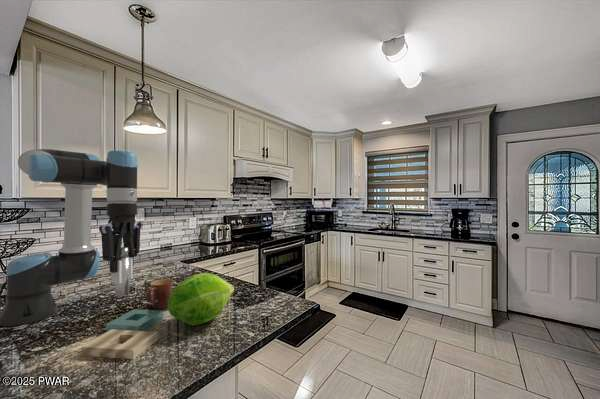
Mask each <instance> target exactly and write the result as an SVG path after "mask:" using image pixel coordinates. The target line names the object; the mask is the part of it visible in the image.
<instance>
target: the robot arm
mask: <svg viewBox="0 0 600 399" xmlns="http://www.w3.org/2000/svg"><path fill="white" fill-rule="evenodd" d="M137 156H138V155H137V154H136V153H134V152H132V151H127V150H118V149H117V150H116V149H115V150H109V151H108V152H107V154H106V159H105V160H101V159H100V158H99V157H98V156H97V155H95V154H92V153H91V154H90V153H87V152H76V151H66V150H59V149H51V148H44V149H43V148H42V149H41V148H40V149H32V150H28V151H25V152H23V153H22V154H20V156H19V158H18V159H17V160H18V161H17V165H18V168H20V170H21V171H22V172H23V173H24V174H26V175H28V179H29V180H30V181H32V182H41V183H55V184H56V183H60V185H61V186H62V187H64V189H65V194H64V196H65V198H64V224H63V225H64V228H63V246H62V247H61V248H59V249H58V254H57V255H56V254H55V255H52V253H51V252H42V253H35V254H29V255H25V256H21V257H18V258H15V259H12V260H10V261H9V262H8V264H7V267H6V273H5V276H6V301H5V304H4V306H3V308H2V311H1V312H0V326H1V327H15V326H22V325H27V324H31V323H35V322H39V321H41V320H44V319H47V318H49V317H51V316H54V314H56V313H57V312H58V305H57V303H56V301H55V299H54V296H53V294H52V286H55V285H56V286H57V285H60V284H61V285H62V284H67V283H72V282H76V281H83V280H86V279H92V278H93V277H95V276H96V275H97V273H98V271H99V268H100V265H101V258H100V257H101V256H102V260H103V261H106V262H109V273H110V284H115V283H116V284H120V283H122V261H121V260H119V257H120V250H121V247H122V244H123V247H128V256H129V257H130V280H133V279H134V278H133V277H134V274H133V273H134V261H135V260H134V258H137V257H138V254H139V253H140V248H141V247H140V245H141V230H142V226H143V224H142V222H138V221H136V219H135V216H137V215H138V204H137V203H135V202H137V201H138V190H137V189H138V166H139V164H138V157H137ZM98 185H101V186H106V202H107V204H106V216H108V221H107V224H105V225H100V226H99V227H98V229H99V232H100V234H101V251H102V253H101V254H102V255H100V252H99V251H98V250H96V247H95V246H94V245H92V244H91V241H92V238H91V237H92V214H93V213H92V212H93V209H92V208H93V207H92V206H93V189H95V188H97V187H98Z"/></svg>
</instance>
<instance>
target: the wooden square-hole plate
mask: <svg viewBox="0 0 600 399" xmlns="http://www.w3.org/2000/svg"><path fill="white" fill-rule="evenodd" d="M158 339H159V331H148V330H146V331H132V330H114V329H112V330H110V331H108V332H106V331H105V332H104V333H103V334H102V335H99V336H98V337H96V338H95V339H93V340H91V341H89V342H88V343H86V344H84V345H83V346H81V356H82V357H83V356H84V357H95V358H109V359H123V360H135V359H136V358H137V357H138V356H140V355H141V354H142V353H143V352H145V351H146V350H147V349H149V348H150V347H151V346H152V345H154V344H155V343H156V342H157V341H159V340H158Z"/></svg>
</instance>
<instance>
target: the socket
mask: <svg viewBox="0 0 600 399" xmlns="http://www.w3.org/2000/svg"><path fill="white" fill-rule="evenodd" d="M163 319H164V310H161V309H137V308H135V309H134V308H133V309H132V310H130V311H128V312H126V313H124V314H122V315H120V316H118V317H117V318H115V319H113V320H111V321H110V322H108V323H106V324H105V333H106V332H108V331H110V330H112V329H114V330H132V331H148V330H150V329H151V328H152V327H153V326H155V325H157V324H158V323H159V322H160V321H162V320H163ZM147 329H148V330H147Z"/></svg>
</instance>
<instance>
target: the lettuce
mask: <svg viewBox="0 0 600 399" xmlns="http://www.w3.org/2000/svg"><path fill="white" fill-rule="evenodd" d="M234 291H235V287H234V286H233V285H232V284H231V283H230V282H228V281H226V280H225V279H223V278H222V277H220V276H218V275H216V274H214V273H210V272H208V273H207V272H206V273H205V272H204V273H203V272H202V273H196V274H193V275H190V276H188V277H187V278H185V279H184V280H183V281H182V282H180V283H179V284H177V285H176V286H175V287H174V289H172V293H171V295H170V296H169V298H168V305H167V309H168V312H169V314H170V315H171V317H173V318H174V319H176V320H178V321H180V322H183V323H186V324H188V325H190V326H198V325H202V324H204V323H205V324H206V323H208V322H210V321H212V320H214V319H216V318H217V317H218V316H220V313H221V312H222V311H223V309H224V308H225V306H226V305H227V303H228V302H229V298H230V297H231V296H232V295H233V294H234Z"/></svg>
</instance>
